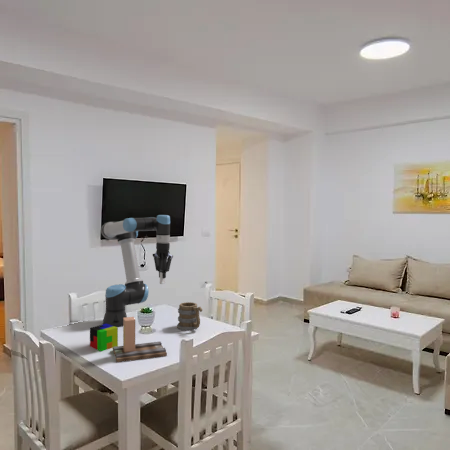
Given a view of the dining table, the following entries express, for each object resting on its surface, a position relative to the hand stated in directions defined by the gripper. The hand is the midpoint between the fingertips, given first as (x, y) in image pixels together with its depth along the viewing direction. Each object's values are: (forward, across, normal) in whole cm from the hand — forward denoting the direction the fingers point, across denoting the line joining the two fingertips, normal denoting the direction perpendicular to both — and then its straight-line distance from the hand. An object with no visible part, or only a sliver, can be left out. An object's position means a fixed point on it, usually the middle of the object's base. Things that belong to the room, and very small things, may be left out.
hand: (162, 283), depth 234 cm
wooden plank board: (+29, +9, -30) cm, 43 cm away
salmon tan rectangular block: (+27, +6, -34) cm, 44 cm away
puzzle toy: (+29, -13, -32) cm, 45 cm away
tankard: (+29, +10, +16) cm, 35 cm away
